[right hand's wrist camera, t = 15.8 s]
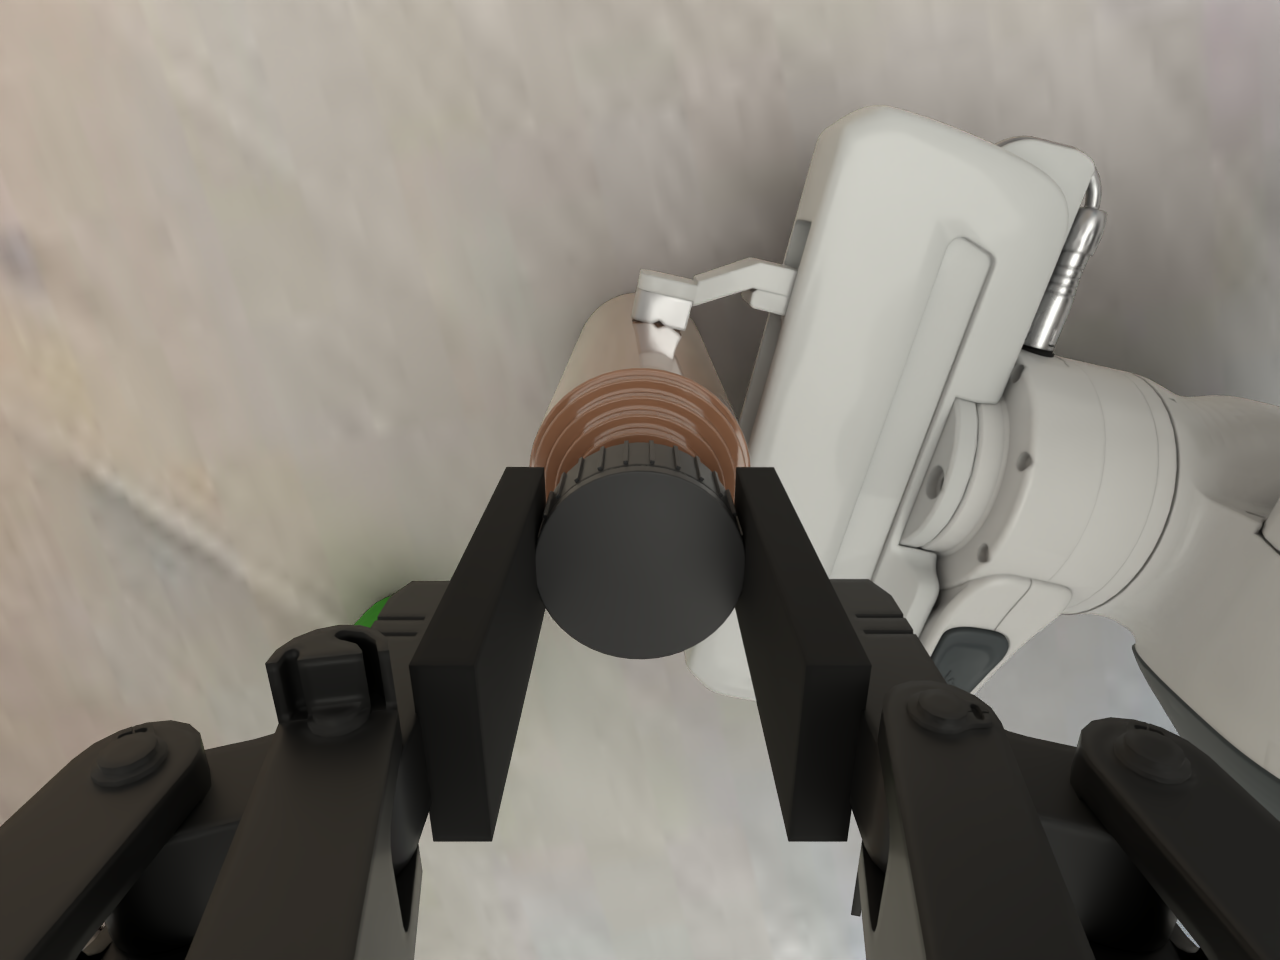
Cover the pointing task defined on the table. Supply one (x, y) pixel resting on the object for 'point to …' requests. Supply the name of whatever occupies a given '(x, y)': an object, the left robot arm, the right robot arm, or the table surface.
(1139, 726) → the right robot arm
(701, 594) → the cap
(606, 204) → the table surface
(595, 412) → the bottle
